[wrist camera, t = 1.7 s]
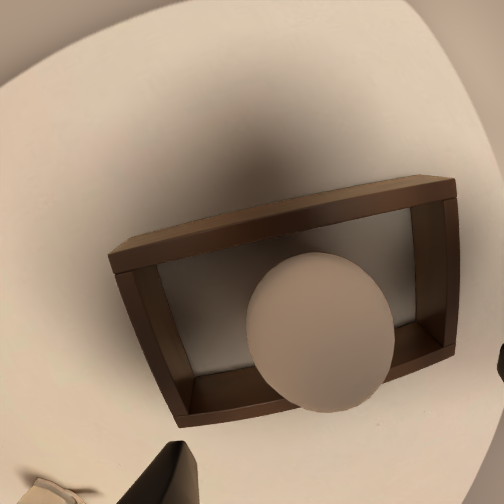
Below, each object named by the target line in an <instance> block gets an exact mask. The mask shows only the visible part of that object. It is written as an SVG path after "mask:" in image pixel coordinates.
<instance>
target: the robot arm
mask: <svg viewBox="0 0 504 504" xmlns="http://www.w3.org/2000/svg"><path fill="white" fill-rule="evenodd" d="M497 371H498V374H499V375H500V377H501V379H502V380H503V382H504V344H502V346H501V349H500V354H499V359H498V363H497ZM116 504H200V502H199V488H198V471H197V463H196V460H195V458H194V456H193V454H192V452H191V451H190V449H189V447H188V445H187V444H186V442H185V441H171V442H168V443H167V444H166V445H165V447H164V448H163V449H162V450H161V451H160V453H159V454H158V455H157V456H156V457H155V459H154V460H153V461H152V462H151V464H150V465H149V466H148V467H147V468H146V470H145V471H144V472H143V473H142V474H141V475H140V477H139V478H138V479H137V480H136V481H135V483H134V484H133V485H132V486H131V487H130V488H129V490H128V491H127V492H126V493H125V494H124V495H123V497H122V498H121V499H120V500H119V501H118V502H117V503H116Z"/></svg>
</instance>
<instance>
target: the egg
mask: <svg viewBox="0 0 504 504" xmlns="http://www.w3.org/2000/svg"><path fill="white" fill-rule="evenodd" d="M246 336H247V341H248V346H249V351H250V354H251V356H252V359H253V361H254V363H255V366H256V368H257V369H258V371H259V372H260V374H261V375H262V377H263V378H264V379H265V381H266V382H267V383H268V384H269V385H270V386H271V387H272V388H273V389H275V390H276V391H277V392H278V393H279V394H280V395H282V396H283V397H284V398H286V399H287V400H288V401H290V402H291V403H294V404H296V405H298V406H300V407H302V408H304V409H306V410H311V411H315V412H326V413H330V412H338V411H345V410H348V409H350V408H353V407H355V406H358V405H359V404H361V403H362V402H364V401H365V400H367V399H368V398H370V397H371V395H372V394H373V393H374V392H375V391H376V390H377V388H378V387H379V386H380V385H381V384H382V383H383V381H384V380H385V378H386V376H387V374H388V372H389V370H390V366H391V361H392V357H393V351H394V343H395V336H394V324H393V318H392V314H391V311H390V307H389V305H388V302H387V300H386V298H385V296H384V294H383V293H382V291H381V289H380V288H379V287H378V286H377V284H376V283H375V282H374V280H373V279H372V278H371V277H370V276H369V275H368V274H367V273H366V272H365V271H363V270H362V269H361V268H360V267H359V266H358V265H356V264H354V263H352V262H351V261H349V260H347V259H345V258H343V257H340V256H337V255H333V254H327V253H322V252H311V253H304V254H300V255H296V256H292V257H290V258H288V259H286V260H283V261H282V262H280V263H279V264H277V265H276V266H275V267H273V268H272V269H270V270H269V271H268V272H267V274H266V275H265V276H264V277H263V278H262V279H261V281H260V282H259V283H258V285H257V287H256V289H255V291H254V293H253V294H252V296H251V299H250V302H249V306H248V309H247V316H246Z"/></svg>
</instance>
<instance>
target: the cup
mask: <svg viewBox="0 0 504 504" xmlns="http://www.w3.org/2000/svg"><path fill="white" fill-rule="evenodd" d="M72 497H74V498H75V499H76V500H77V501H78V503H79V504H85V503H84V502H83V501H82V499H81V498H80V497H78V496H77V495H76V494H75V493H73V492H72V491H70V490H64V489H63V488H61V487H59V486H58V485H56V484H55V483H53V482H51V481H47V480H44V479H40V478H38V479H37V480H36V481H35V483H34V486H33V487H32V488H31V489H30V490H29V491H28V492H27V493H26V494H25V495H24V496H23V497H22V498H21V499H20V500H19V502H18V503H17V504H74V503H75V500H74V499H73V498H72Z"/></svg>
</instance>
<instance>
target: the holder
mask: <svg viewBox="0 0 504 504" xmlns="http://www.w3.org/2000/svg"><path fill="white" fill-rule="evenodd" d="M456 197H457V191H456V182H455V179H454V178H447V177H438V176H428V175H414V176H408V177H402V178H396V179H391V180H385V181H380V182H374V183H369V184H364V185H358V186H353V187H348V188H343V189H338V190H332V191H327V192H322V193H318V194H313V195H308V196H303V197H298V198H293V199H289V200H284V201H279V202H275V203H270V204H266V205H261V206H257V207H252V208H248V209H243V210H239V211H235V212H230V213H226V214H222V215H218V216H213V217H209V218H205V219H201V220H197V221H193V222H189V223H184V224H180V225H176V226H172V227H169V228H165V229H161V230H157V231H153V232H149V233H145V234H141V235H138V236H134V237H131V238H130V239H128V240H127V241H125V242H124V243H123V244H121V245H120V246H119V247H117V248H116V249H114V250H113V251H112V252H110V253H109V254H108V258H109V261H110V264H111V267H112V270H113V273H114V274H115V279H116V282H117V285H118V288H119V291H120V293H121V296H122V299H123V302H124V304H125V307H126V310H127V313H128V315H129V318H130V320H131V323H132V326H133V328H134V331H135V333H136V336H137V338H138V341H139V343H140V345H141V348H142V350H143V353H144V355H145V357H146V360H147V362H148V364H149V367H150V369H151V371H152V373H153V376H154V378H155V380H156V382H157V384H158V386H159V389H160V391H161V393H162V395H163V397H164V399H165V401H166V403H167V405H168V407H169V409H170V411H171V413H172V415H173V418H174V420H175V422H176V424H177V426H178V427H179V428H185V427H194V426H202V425H210V424H217V423H224V422H230V421H236V420H242V419H248V418H253V417H259V416H264V415H269V414H274V413H278V412H283V411H287V410H292V409H296V408H300V406H298V405H296V404H294V403H291V402H290V401H288V400H287V399H286V398H284V397H283V396H282V395H280V394H279V393H278V392H277V391H276V390H275V389H273V388H272V387H271V386H270V385H269V384H268V383H267V382H266V381H265V379H264V378H263V377H262V375H261V374H260V372H259V371H258V369H257V368H256V366H255V367H251V368H246V369H241V370H236V371H230V372H225V373H219V374H214V375H208V376H202V377H196V378H194V375H193V372H192V369H191V367H190V364H189V362H188V359H187V356H186V354H185V351H184V348H183V346H182V343H181V340H180V337H179V334H178V332H177V329H176V326H175V323H174V320H173V317H172V314H171V312H170V309H169V306H168V303H167V300H166V297H165V293H164V290H163V287H162V284H161V281H160V278H159V275H158V271H157V268H156V264H160V263H165V262H169V261H173V260H178V259H182V258H186V257H190V256H195V255H199V254H203V253H208V252H212V251H216V250H221V249H225V248H229V247H234V246H238V245H243V244H247V243H251V242H256V241H260V240H264V239H269V238H273V237H278V236H282V235H287V234H291V233H295V232H300V231H304V230H309V229H313V228H318V227H322V226H327V225H331V224H336V223H340V222H345V221H349V220H354V219H358V218H363V217H368V216H372V215H377V214H381V213H386V212H390V211H395V210H400V209H404V208H409V207H411V217H412V227H413V238H414V252H415V271H416V321H417V322H414V323H411V324H408V325H405V326H403V327H400V328H397V329H394V336H395V343H394V351H393V357H392V361H391V366H390V370H389V372H388V374H387V376H386V378H385V380H384V381H383V383H386V382H388V381H391V380H394V379H397V378H400V377H402V376H405V375H408V374H410V373H413V372H415V371H418V370H420V369H423V368H425V367H428V366H430V365H433V364H435V363H438V362H440V361H442V360H445V359H447V358H449V357H451V356H454V354H455V346H456V335H457V324H458V310H459V291H460V237H459V217H458V203H457V198H456ZM383 383H382V384H383Z"/></svg>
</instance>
